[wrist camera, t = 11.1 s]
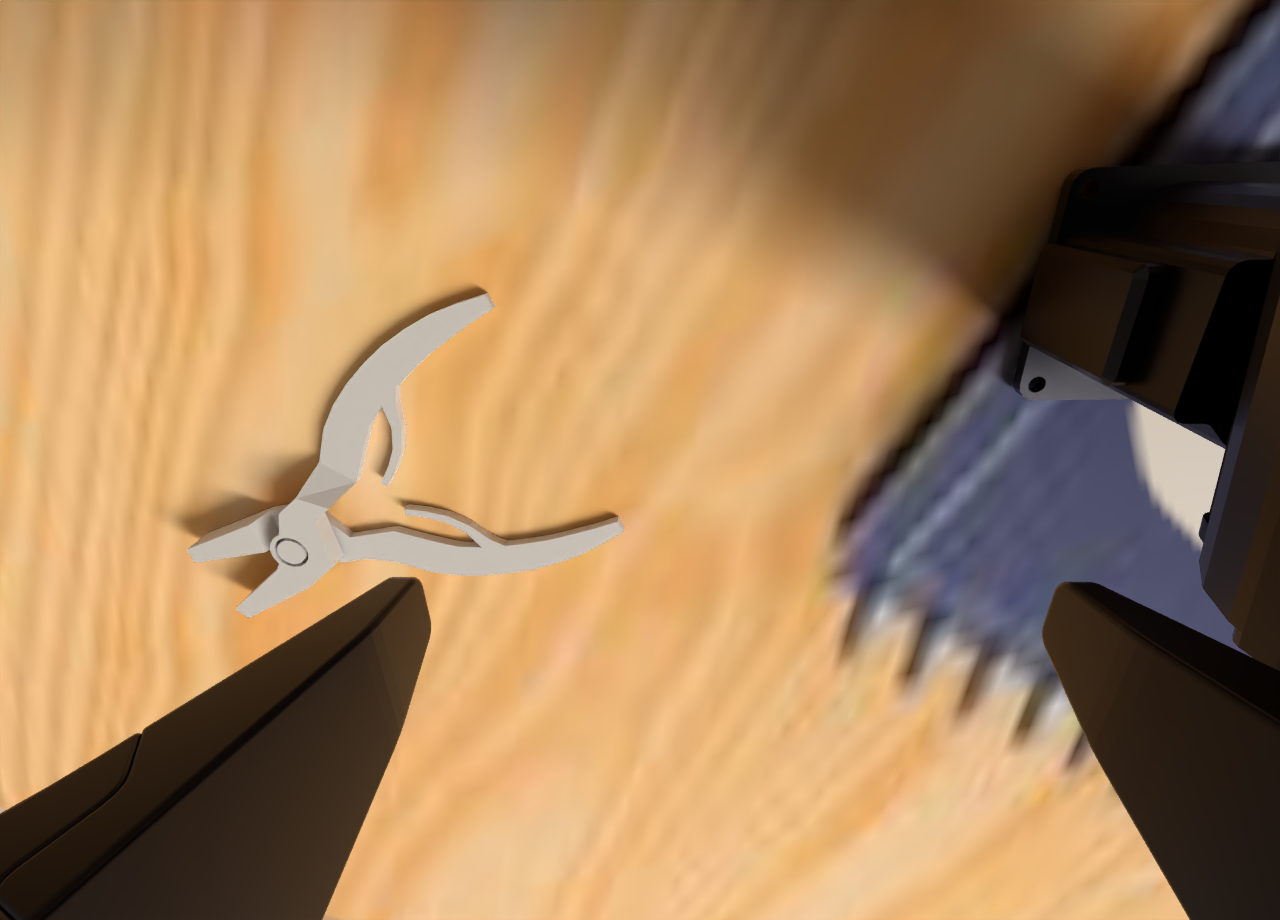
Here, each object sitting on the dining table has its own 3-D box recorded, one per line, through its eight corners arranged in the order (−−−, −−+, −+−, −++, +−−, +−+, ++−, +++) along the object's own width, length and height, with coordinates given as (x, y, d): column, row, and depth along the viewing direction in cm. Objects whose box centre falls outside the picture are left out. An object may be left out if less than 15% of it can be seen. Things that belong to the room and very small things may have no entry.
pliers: (624, 550, 21) (299, 675, 25) (627, 526, 23) (319, 648, 26) (471, 293, 18) (115, 482, 21) (486, 283, 19) (150, 462, 23)
